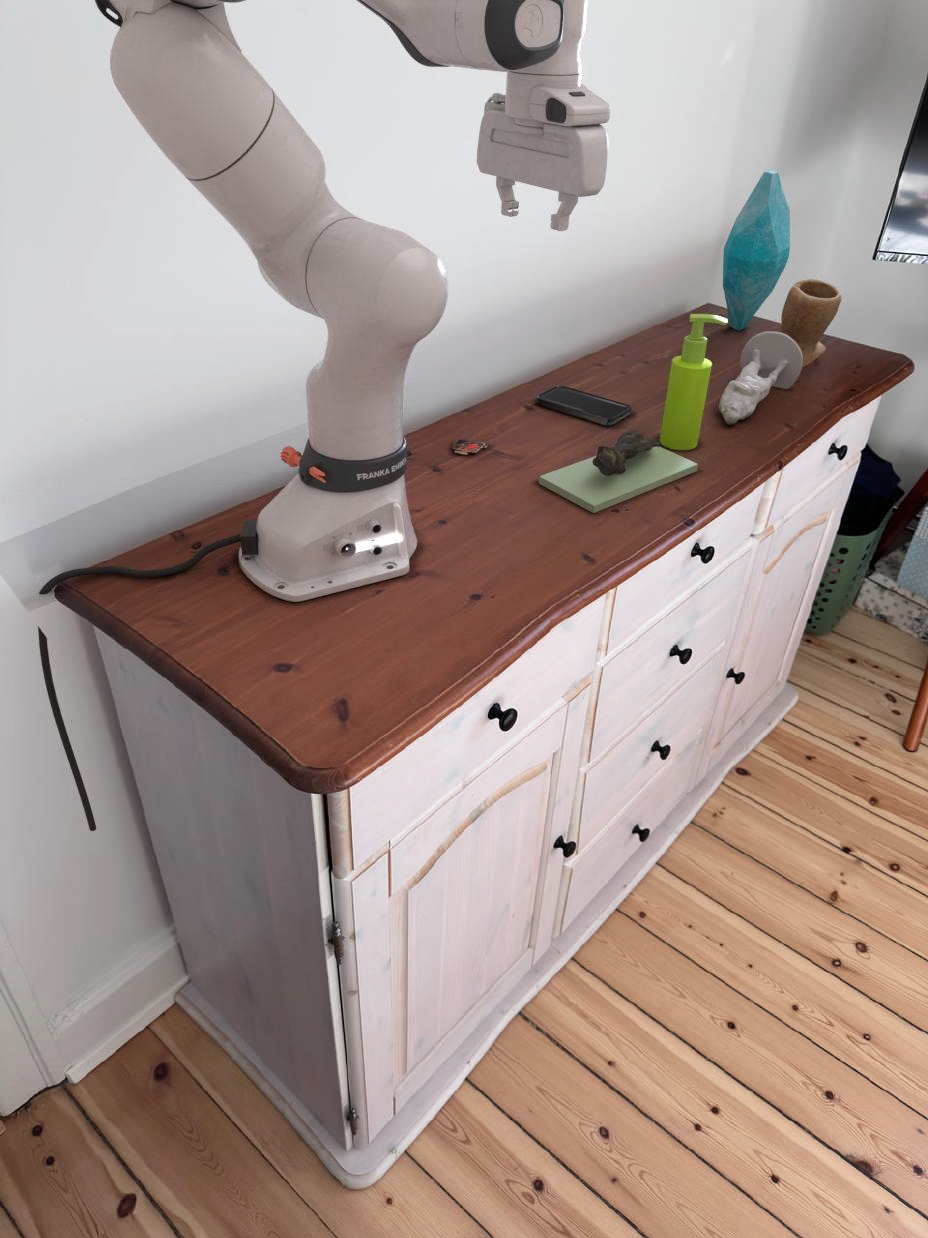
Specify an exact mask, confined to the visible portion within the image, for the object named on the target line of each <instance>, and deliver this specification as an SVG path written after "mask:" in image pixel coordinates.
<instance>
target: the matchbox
mask: <svg viewBox="0 0 928 1238" xmlns="http://www.w3.org/2000/svg"><path fill="white" fill-rule="evenodd" d="M482 448H484V449H486V448H488V444H486V442H481V441H476V440H471V439H457V440H456V441H455V442H454V443H453V444H452V449H453V450H454V453H455V454H459V455H469V453H478V451H480V450H481V449H482Z"/></svg>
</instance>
